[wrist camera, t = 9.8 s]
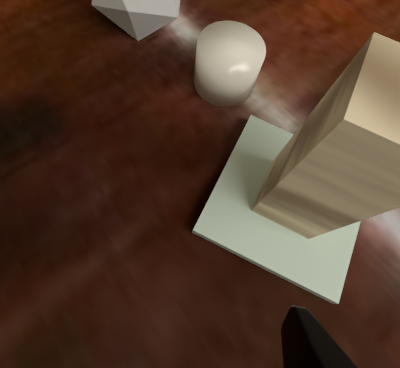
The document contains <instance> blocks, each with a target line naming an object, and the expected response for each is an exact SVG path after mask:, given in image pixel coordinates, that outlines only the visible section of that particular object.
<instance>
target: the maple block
mask: <svg viewBox="0 0 400 368" xmlns="http://www.w3.org/2000/svg"><path fill="white" fill-rule="evenodd" d="M398 207H400V43H399V42H397V41H394V40H392V39H389V38H387V37H385V36H382V35H380V34H377V33H375V32H374V33H373V34H372V35H371V37H370V38H369V39H368V41H367V42H366V43H365V44H364V46H363V47H362V48H361V49H360V51H359V52H358V53H357V55H356V56H355V57H354V58H353V60H352V61H351V62H350V63H349V65H348V66H347V67H346V69H345V70H344V71H343V72H342V74H341V75H340V76H339V78H338V79H337V80H336V81H335V83H334V84H333V85H332V86H331V88H330V89H329V90H328V92H327V93H326V94H325V95H324V97H323V98H322V99H321V100H320V102H319V103H318V104H317V106H316V107H315V108H314V109H313V111H312V112H311V113H310V114H309V116H308V117H307V118H306V120H305V121H304V122H303V123H302V125H301V126H300V127H299V129H298V130H297V131H296V132H295V134H294V135H293V136H292V137H291V139H290V140H289V141H288V143H287V144H286V145H285V146H284V148H283V149H282V150H281V151H280V153H279V154H278V155H277V157H276V158H275V159H274V160H273V162H272V164H271V167H270V169H269V171H268V174H267V176H266V178H265V180H264V183H263V185H262V187H261V190H260V192H259V194H258V196H257V199H256V201H255V203H254V205H253V208H252V210H251V211H253V212H255V213H257V214H259V215H261V216H263V217H265V218H267V219H269V220H271V221H273V222H275V223H277V224H279V225H281V226H283V227H285V228H287V229H289V230H291V231H293V232H295V233H297V234H299V235H301V236H303V237H305V238H307V239H310V238H313V237H316V236H319V235H322V234H325V233H327V232H330V231H333V230H336V229H339V228H342V227H344V226H347V225H350V224H353V223H356V222H359V221H361V220H364V219H367V218H370V217H373V216H376V215H378V214H381V213H384V212H387V211H390V210H393V209H396V208H398Z"/></svg>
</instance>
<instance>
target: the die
mask: <svg viewBox="0 0 400 368" xmlns="http://www.w3.org/2000/svg"><path fill="white" fill-rule="evenodd" d="M92 6H93V7H95V8H96V9H97V10H99V11H100V12H101V13H102V14H104V15H105V16H106V17H108V18H109V19H110V20H111V21H113V22H114V23H115V24H117V25H118V26H119V27H120V28H122V29H123V30H124V31H126V32H127V33H128V34H129V35H131V36H132V37H133V38H134V39H136V40H137V41H139V40H141V39H143V38H144V37H146V36H148V35H150V34H151V33H153V32H155V31H156V30H158V29H160V28H161V27H163V26H165V25H166V24H168V23H170V22H171V21H173V20H175V19H177V18H178V15H179V6H180V0H92Z"/></svg>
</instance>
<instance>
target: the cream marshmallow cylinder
mask: <svg viewBox="0 0 400 368" xmlns="http://www.w3.org/2000/svg"><path fill="white" fill-rule="evenodd" d="M265 55H266V46H265V43H264V41H263V39H262V37H261V36H260V35H259V34H258V33H257V32H256V31H255V30H254V29H252V28H251V27H249V26H247V25H245V24H242V23H239V22H235V21H219V22H215V23H212V24H210V25H208V26H207V27H205V28H204V29H203V30H202V31H201V33H200V34H199V36H198V39H197V47H196V59H195V70H194V87H195V89H196V91H197V93H198V94H199V96H200V97H201V98H202V99H204V100H205V101H206V102H208V103H210V104H212V105H215V106H219V107H233V106H237V105H239V104H241V103H243V102H244V101H246V100H247V99H248V97H249V96H250V94H251V92H252V89H253V87H254V84H255V82H256V79H257V77H258V74H259V71H260V69H261V66H262V64H263V61H264V59H265Z"/></svg>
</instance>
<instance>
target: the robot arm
mask: <svg viewBox="0 0 400 368" xmlns="http://www.w3.org/2000/svg"><path fill="white" fill-rule="evenodd" d="M281 336H282V350H283V364H284V368H357V367H356V365H355V364H354V363H353V362H352V361H351V359H350V358H349V357H348V356H347V355H346V354H345V352H344V351H343V350H342V349H341V348H340V347H339V345H338V344H337V343H336V342H335V341H334V340H333V338H332V337H331V336H330V335H329V334H328V333H327V331H326V330H325V329H324V328H323V327H322V325H321V324H320V323H319V322H318V321H317V320H316V318H315V317H314V316H313V315H312V314H311V313H310V311H309V310H308V309H306V308H304V307H299V306H292V307H290V309H289V311H288V313H287V316H286V318H285V320H284V322H283V324H282V329H281Z"/></svg>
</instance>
